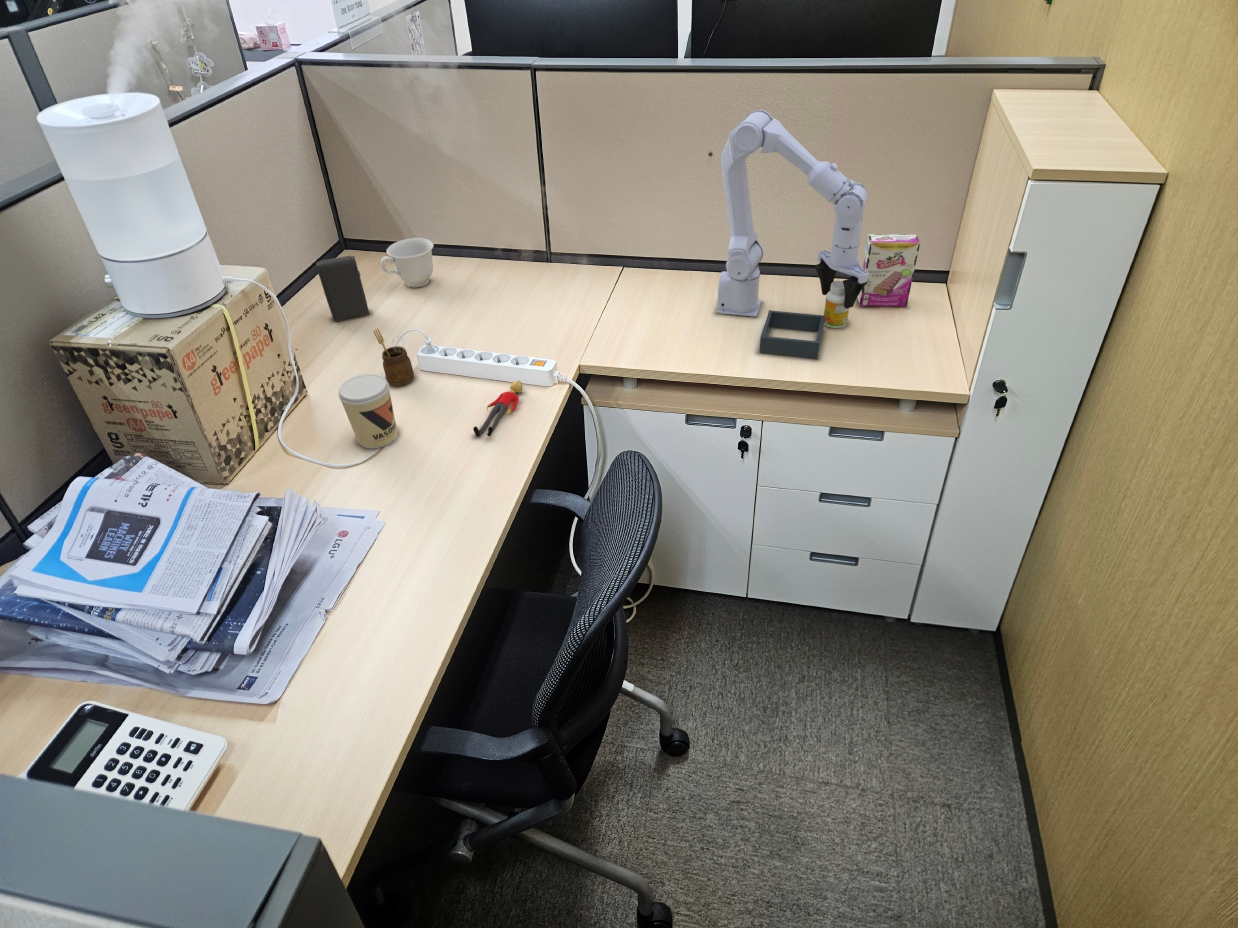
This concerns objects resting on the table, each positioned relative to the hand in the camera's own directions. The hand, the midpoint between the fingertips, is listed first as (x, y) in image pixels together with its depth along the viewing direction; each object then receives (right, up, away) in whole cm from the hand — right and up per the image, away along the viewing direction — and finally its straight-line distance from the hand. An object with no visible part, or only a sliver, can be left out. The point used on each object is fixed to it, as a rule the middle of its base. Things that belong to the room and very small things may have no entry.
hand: (837, 300), depth 179 cm
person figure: (-73, -27, -18) cm, 80 cm away
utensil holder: (-97, -19, -6) cm, 99 cm away
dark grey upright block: (-116, 0, +18) cm, 118 cm away
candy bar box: (+13, +1, +10) cm, 17 cm away
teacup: (-104, +10, +31) cm, 109 cm away
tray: (-11, -10, -2) cm, 15 cm away
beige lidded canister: (-97, -32, -22) cm, 105 cm away
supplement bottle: (0, -5, +4) cm, 6 cm away
